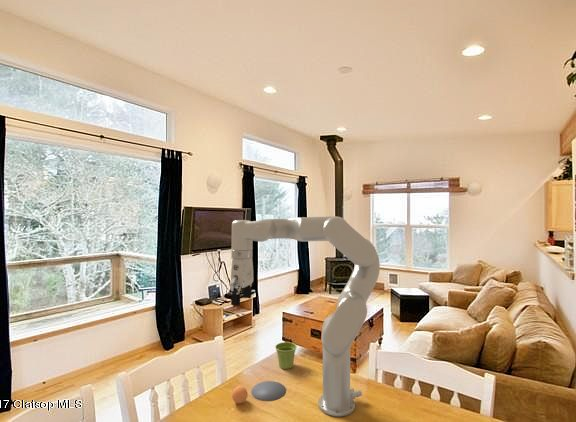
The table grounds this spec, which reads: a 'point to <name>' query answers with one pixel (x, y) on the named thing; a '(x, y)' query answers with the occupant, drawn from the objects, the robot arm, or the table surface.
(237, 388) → the ball
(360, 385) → the table surface
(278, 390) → the disc
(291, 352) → the plant pot
